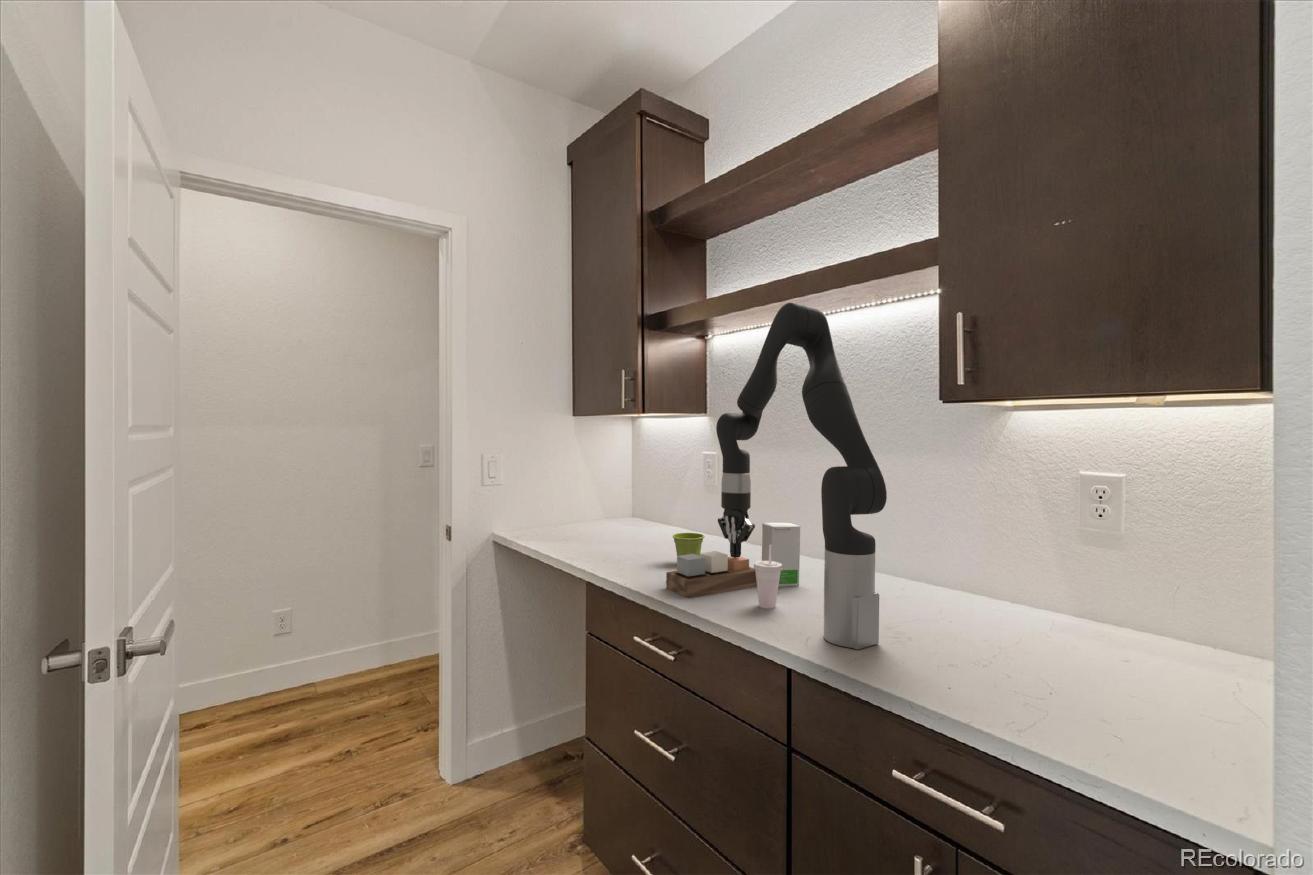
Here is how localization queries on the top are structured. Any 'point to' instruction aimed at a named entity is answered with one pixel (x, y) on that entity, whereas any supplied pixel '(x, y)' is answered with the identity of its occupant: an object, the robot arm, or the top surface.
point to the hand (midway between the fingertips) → (735, 556)
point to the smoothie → (767, 581)
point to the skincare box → (783, 550)
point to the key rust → (738, 564)
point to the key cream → (715, 561)
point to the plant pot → (688, 543)
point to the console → (710, 582)
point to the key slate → (691, 565)
